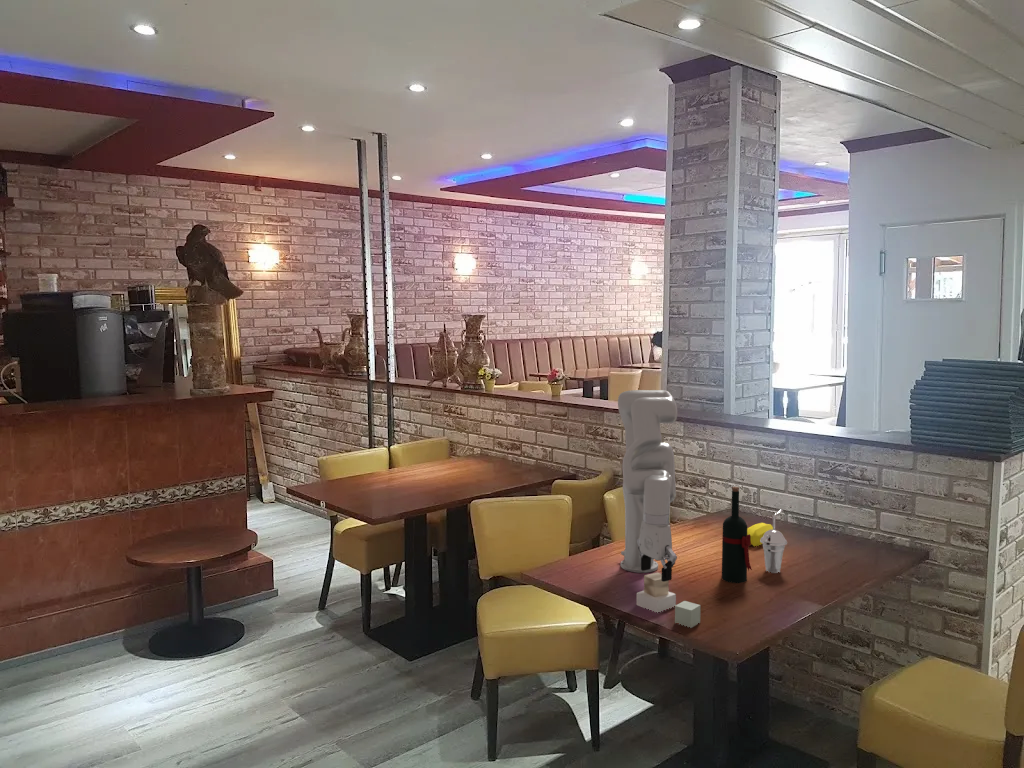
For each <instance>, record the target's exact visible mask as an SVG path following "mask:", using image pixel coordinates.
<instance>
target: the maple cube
mask: <svg viewBox="0 0 1024 768" xmlns="http://www.w3.org/2000/svg"><path fill="white" fill-rule="evenodd" d="M661 579H662V573H660V572H658V571H657V572H654V573H653V572H652V573H650V574H645V575H643V591H644V592H645V593H647V594H649V595H651V596H653V597H658V596H663V595H667V594H669V592H670V591H669V590H670V589H669V582H670V580H669V581H665V582H663V581H662V580H661Z"/></svg>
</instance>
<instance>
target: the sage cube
mask: <svg viewBox="0 0 1024 768" xmlns="http://www.w3.org/2000/svg"><path fill="white" fill-rule="evenodd" d="M676 623H679V624H678V625H680V624H681V625H680V626H683V625H684V626H683V627H686V626H687V628H689V627H690V628H689V629H692V628H694V627H696V626H697V625H698V623H699V624H700V623H701V604H697V603H695V602H691V601H687V600H683V601H681V602H680V603H678V604H677V603H676V605H675V607H674V624H676Z"/></svg>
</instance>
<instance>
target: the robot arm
mask: <svg viewBox="0 0 1024 768" xmlns="http://www.w3.org/2000/svg"><path fill="white" fill-rule="evenodd" d="M617 408H618V414H619V416H620V419H621V422H622V424H623V428H624V433H625V453H624V455H623V458H622V465H621V467H622V481H623V482H622V492H623V493H622V494H623V500H624V511H625V512H624V519H625V520H624V522H625V525H624V527H625V528H624V529H625V530H624V531H625V532H624V534H625V535H624V547H625V548H624V550H621V551H620V555H622V556H623V560H621V561H620V568H621V569H622V570H624V571H627V572H632V573H640V574H643V573H653V572H655V571H656V570H658V569H659V564H658V562H657V561H660V563H661V565H662V567H661V574H662V579H661V580H662V581H663V582H665V581H669V582H670V581H671V580H672V578H673V577H672V576H673V575H672V573H673V571H672V570H673V569H672V568H673V567H674V565H675V564H676V561H677V559H678V555H677V554H676V553H675V552H674V550H673V542H672V541H673V540H672V539H673V538H672V530H671V524H670V523H671V521H670V520H671V503H673V502H674V500H675V498H676V494H677V493H676V490H677V487H676V467H675V466H676V465H675V463H676V462H675V453H674V449H673V447H672V445H671V444H669V443H668V442H664V441H663V442H662V439H663V438H662V431H661V424H673V423H675V422H676V421H677V418H678V406H677V403H676V400H675V398H674V396H673V395H672V394H671V392H669V391H668V390H665V389H659V390H658V389H651V390H650V389H649V390H648V389H633V390H625V391H623V392H621V393H620V394H619V395H618V398H617Z"/></svg>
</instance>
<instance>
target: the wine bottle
mask: <svg viewBox="0 0 1024 768" xmlns="http://www.w3.org/2000/svg"><path fill="white" fill-rule="evenodd" d="M739 509H740V486H739V487H738V486H731V515H730V516H728V517H726V518H725V519H724V520H723V522H722V539H721V540H722V543H721V544H722V546H721V580H722V579H723V580H722V581H724V582H725V583H726V582H727V583H730V584H744V583H746V582H748V572H749V571H750V570H751V571H753V570H752V566H751V564H750V554H749V551H750V550H749V547H751V545H750V544H751V536H750V534H749V535H747V528H748V524H747V522H746V520H745V519H744V518H743V517H741V516H739V514H740V513H739V512H740V510H739Z"/></svg>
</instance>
